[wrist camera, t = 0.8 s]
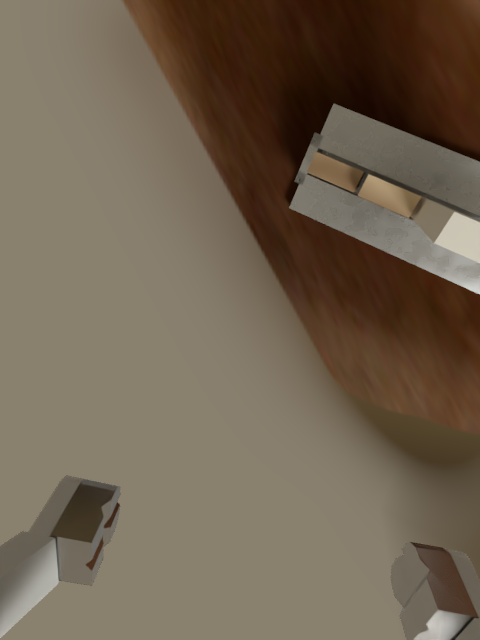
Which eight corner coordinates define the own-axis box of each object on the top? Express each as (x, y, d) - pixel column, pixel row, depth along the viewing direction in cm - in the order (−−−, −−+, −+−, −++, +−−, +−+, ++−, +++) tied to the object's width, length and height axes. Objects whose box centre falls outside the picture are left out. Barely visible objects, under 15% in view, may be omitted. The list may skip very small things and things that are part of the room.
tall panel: (415, 193, 40) (454, 211, 21) (485, 223, 39) (594, 271, 20) (405, 210, 41) (434, 243, 22) (473, 239, 40) (566, 301, 21)
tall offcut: (369, 174, 41) (368, 174, 32) (411, 191, 40) (421, 196, 31) (360, 191, 42) (357, 195, 33) (401, 208, 41) (408, 218, 32)
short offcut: (325, 155, 42) (315, 151, 35) (365, 172, 41) (363, 171, 34) (317, 172, 43) (306, 172, 36) (356, 189, 42) (353, 192, 35)
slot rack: (334, 105, 41) (329, 96, 36) (554, 193, 37) (582, 196, 33) (291, 206, 46) (282, 210, 42) (479, 292, 43) (493, 307, 38)
